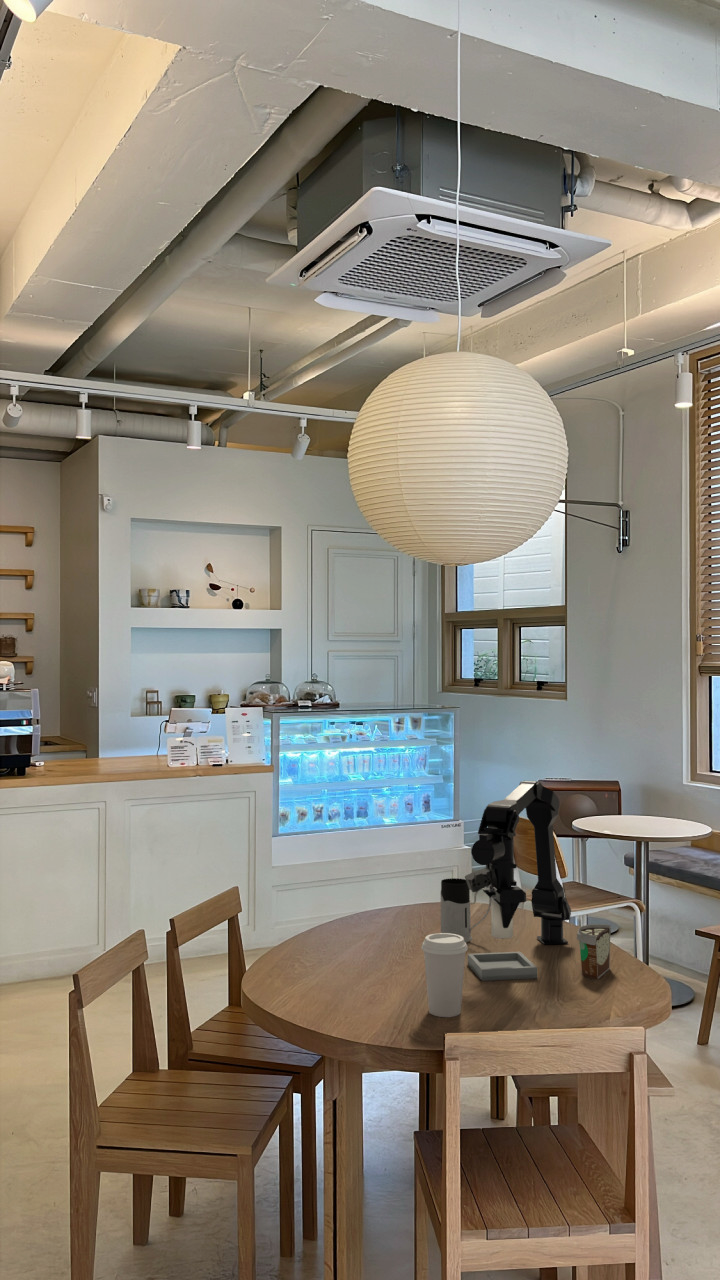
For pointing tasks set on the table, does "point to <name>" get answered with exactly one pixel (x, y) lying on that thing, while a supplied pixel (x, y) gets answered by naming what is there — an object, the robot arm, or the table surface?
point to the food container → (594, 949)
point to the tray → (502, 966)
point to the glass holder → (457, 908)
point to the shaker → (499, 922)
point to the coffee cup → (444, 972)
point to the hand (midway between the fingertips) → (502, 925)
